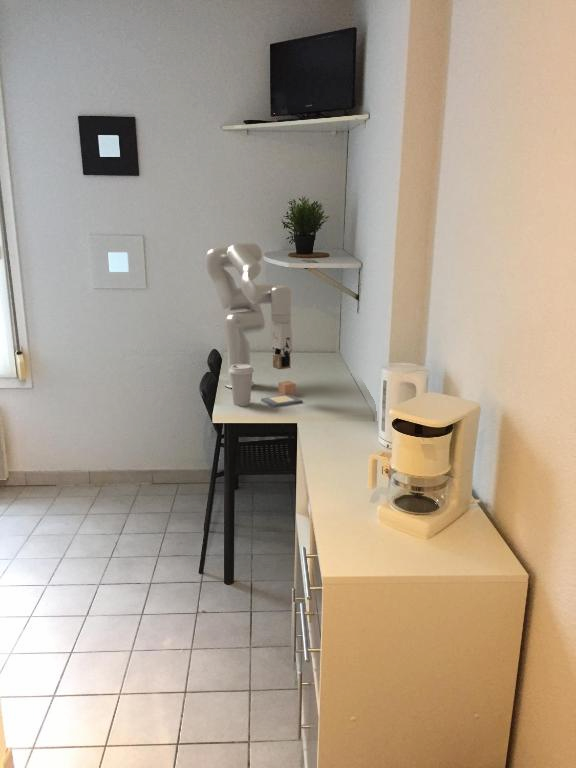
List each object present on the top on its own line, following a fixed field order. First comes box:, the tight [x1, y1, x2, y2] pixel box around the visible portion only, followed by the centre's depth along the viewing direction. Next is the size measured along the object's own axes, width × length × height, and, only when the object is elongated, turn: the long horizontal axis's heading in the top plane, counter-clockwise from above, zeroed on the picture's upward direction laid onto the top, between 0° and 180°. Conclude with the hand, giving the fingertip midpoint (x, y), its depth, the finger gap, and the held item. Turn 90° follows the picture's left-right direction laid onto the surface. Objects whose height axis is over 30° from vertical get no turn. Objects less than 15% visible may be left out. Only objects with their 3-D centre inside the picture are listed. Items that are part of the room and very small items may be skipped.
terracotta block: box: [278, 380, 296, 396], centre depth 267 cm, size 5×5×5 cm
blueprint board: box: [260, 394, 303, 408], centre depth 257 cm, size 10×13×1 cm
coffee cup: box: [229, 364, 254, 407], centre depth 253 cm, size 10×10×15 cm
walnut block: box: [272, 353, 291, 370], centre depth 253 cm, size 5×5×5 cm
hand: (281, 364), depth 254 cm, fingers closed on walnut block, 5 cm apart
